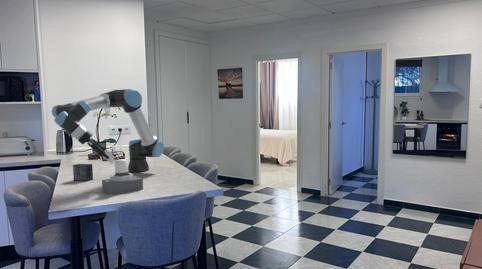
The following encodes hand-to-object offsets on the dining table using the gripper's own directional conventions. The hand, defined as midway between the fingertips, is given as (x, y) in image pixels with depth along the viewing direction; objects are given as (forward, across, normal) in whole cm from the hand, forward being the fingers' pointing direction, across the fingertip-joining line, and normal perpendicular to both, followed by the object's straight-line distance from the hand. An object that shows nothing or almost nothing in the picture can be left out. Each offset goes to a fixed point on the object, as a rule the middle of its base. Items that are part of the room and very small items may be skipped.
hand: (113, 160), depth 193 cm
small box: (-1, -40, -26) cm, 47 cm away
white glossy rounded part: (+11, 0, -5) cm, 12 cm away
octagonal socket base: (+15, 0, -9) cm, 18 cm away
